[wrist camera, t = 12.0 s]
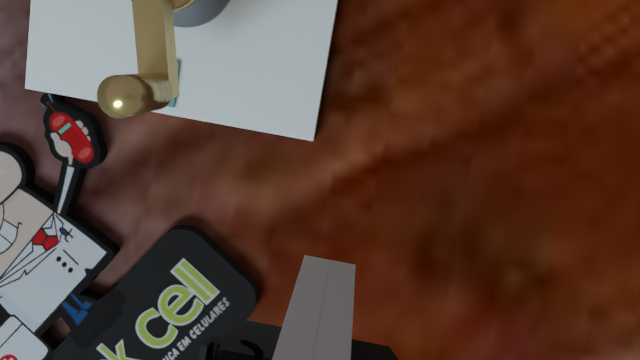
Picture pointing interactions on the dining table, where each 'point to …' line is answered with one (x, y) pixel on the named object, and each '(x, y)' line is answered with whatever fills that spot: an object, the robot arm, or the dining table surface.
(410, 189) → the dining table surface
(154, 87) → the brass lever knob
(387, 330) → the dining table surface
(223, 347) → the robot arm
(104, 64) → the post board
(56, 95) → the sign
